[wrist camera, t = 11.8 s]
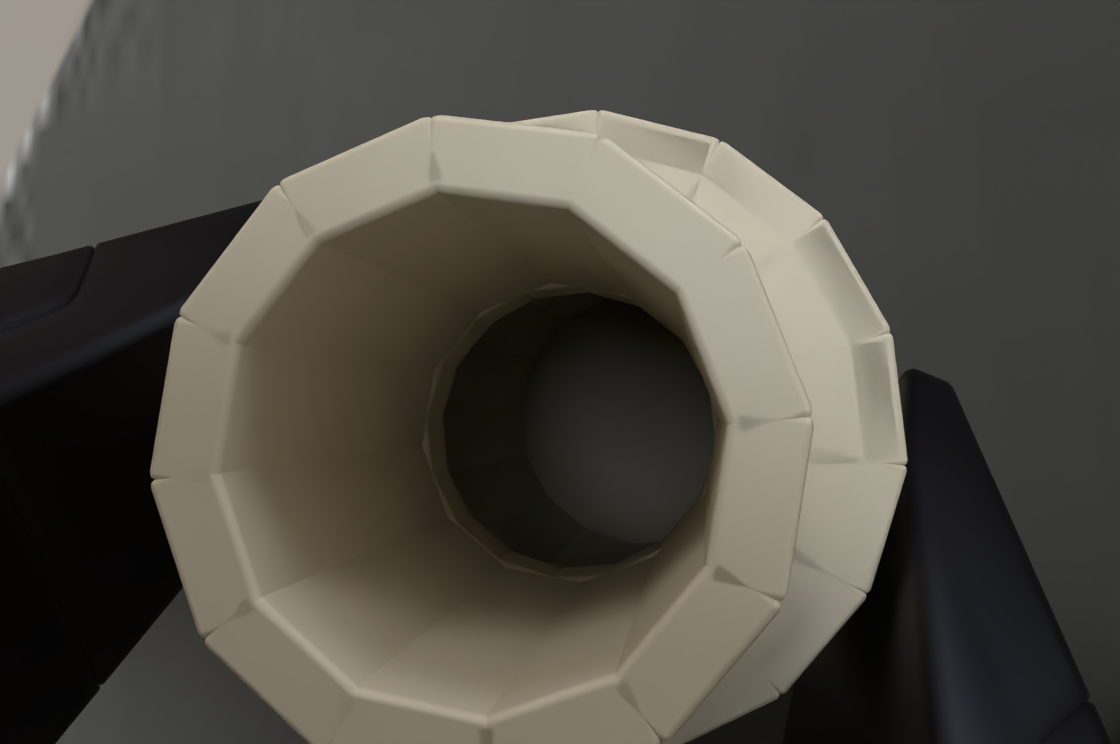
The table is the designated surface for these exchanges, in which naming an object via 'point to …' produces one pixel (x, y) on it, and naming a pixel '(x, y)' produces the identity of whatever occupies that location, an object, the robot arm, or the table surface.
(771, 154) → the table surface
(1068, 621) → the table surface
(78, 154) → the table surface
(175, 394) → the bottle
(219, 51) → the table surface
